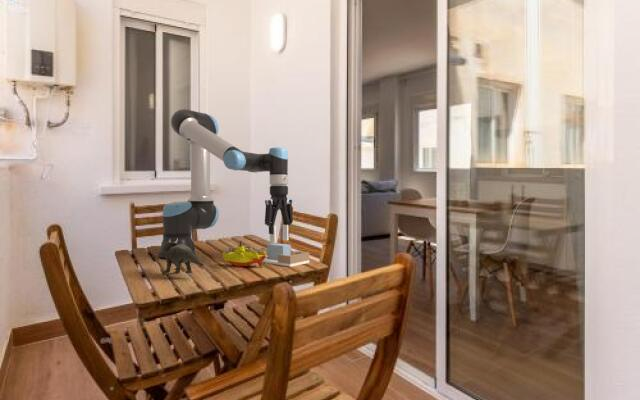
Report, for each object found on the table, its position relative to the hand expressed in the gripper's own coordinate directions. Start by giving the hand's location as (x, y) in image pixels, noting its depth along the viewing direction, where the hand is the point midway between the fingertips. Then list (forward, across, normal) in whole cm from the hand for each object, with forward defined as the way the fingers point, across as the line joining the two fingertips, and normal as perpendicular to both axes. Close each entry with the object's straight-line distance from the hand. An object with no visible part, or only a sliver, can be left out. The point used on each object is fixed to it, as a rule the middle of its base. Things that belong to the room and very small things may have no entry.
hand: (279, 241), depth 158 cm
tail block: (+7, 0, 0) cm, 7 cm away
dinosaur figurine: (+9, -38, +12) cm, 41 cm away
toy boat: (+9, -16, +4) cm, 19 cm away
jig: (+8, 0, +7) cm, 11 cm away
